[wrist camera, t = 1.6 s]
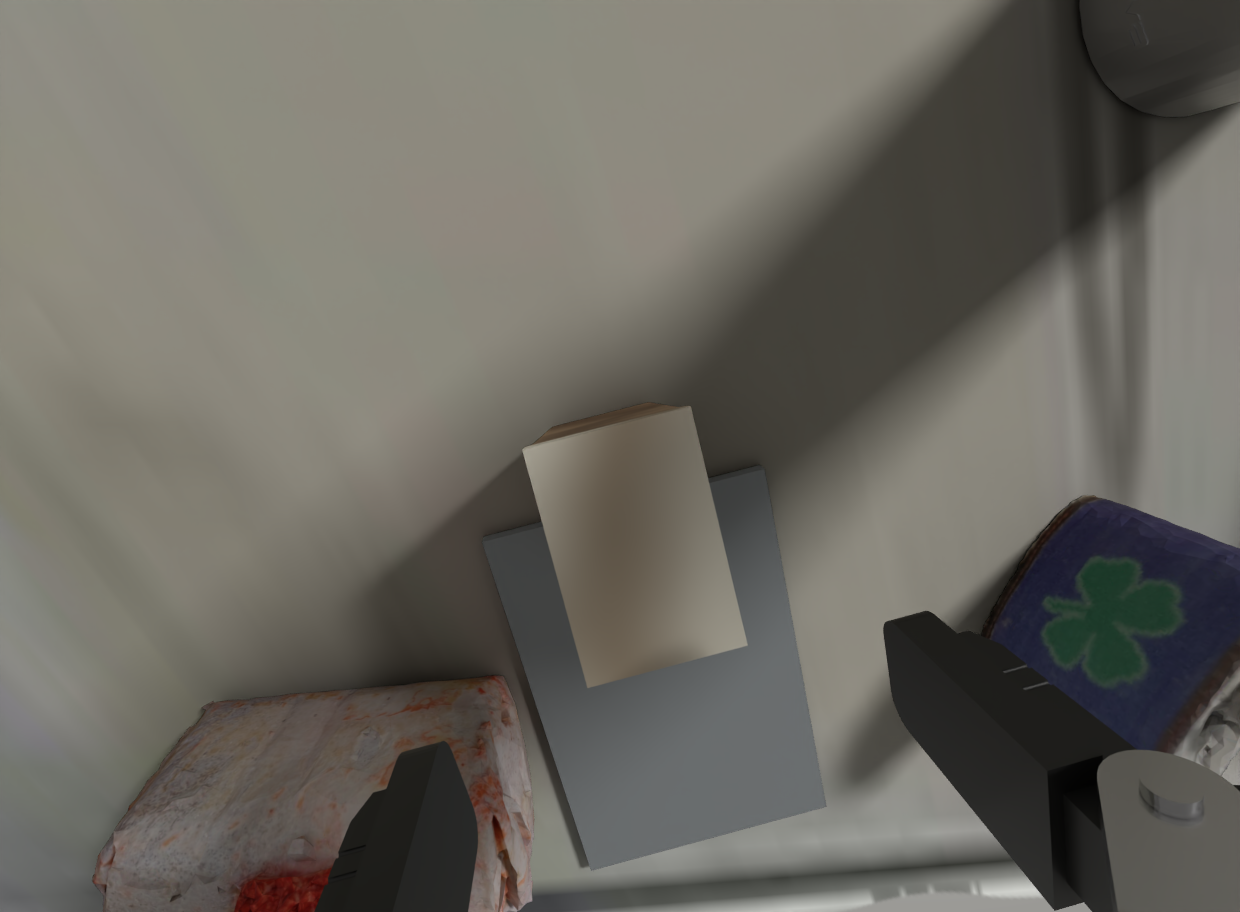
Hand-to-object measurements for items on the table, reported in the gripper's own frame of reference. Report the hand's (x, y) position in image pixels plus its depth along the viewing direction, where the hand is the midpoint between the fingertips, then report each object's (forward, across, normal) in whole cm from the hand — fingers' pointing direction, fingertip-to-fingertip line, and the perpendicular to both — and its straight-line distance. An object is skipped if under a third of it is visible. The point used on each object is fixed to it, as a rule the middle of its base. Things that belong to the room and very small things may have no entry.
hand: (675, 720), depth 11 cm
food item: (+15, +13, +9) cm, 22 cm away
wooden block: (+14, 0, 0) cm, 14 cm away
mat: (+15, 0, +10) cm, 18 cm away
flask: (+15, -18, +10) cm, 25 cm away
